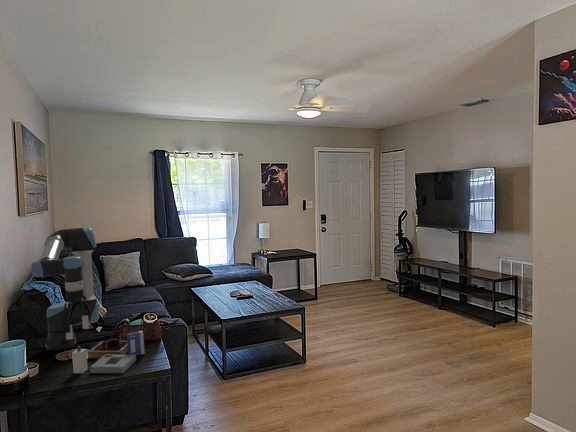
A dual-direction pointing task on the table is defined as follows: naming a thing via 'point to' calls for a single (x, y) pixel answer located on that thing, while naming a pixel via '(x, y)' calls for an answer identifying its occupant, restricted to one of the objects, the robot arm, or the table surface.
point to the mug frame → (98, 353)
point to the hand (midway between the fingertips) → (78, 333)
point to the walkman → (135, 343)
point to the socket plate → (113, 363)
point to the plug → (79, 360)
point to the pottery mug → (112, 345)
